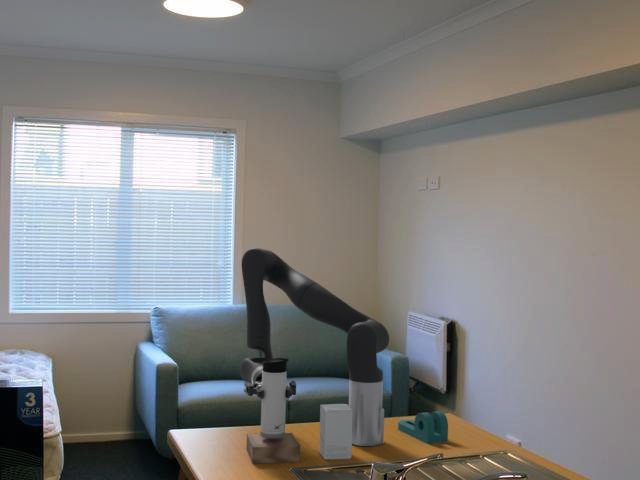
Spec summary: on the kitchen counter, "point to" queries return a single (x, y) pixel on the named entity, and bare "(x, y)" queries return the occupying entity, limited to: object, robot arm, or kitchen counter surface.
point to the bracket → (426, 427)
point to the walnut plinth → (273, 449)
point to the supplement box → (335, 431)
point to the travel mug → (273, 398)
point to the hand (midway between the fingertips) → (275, 394)
